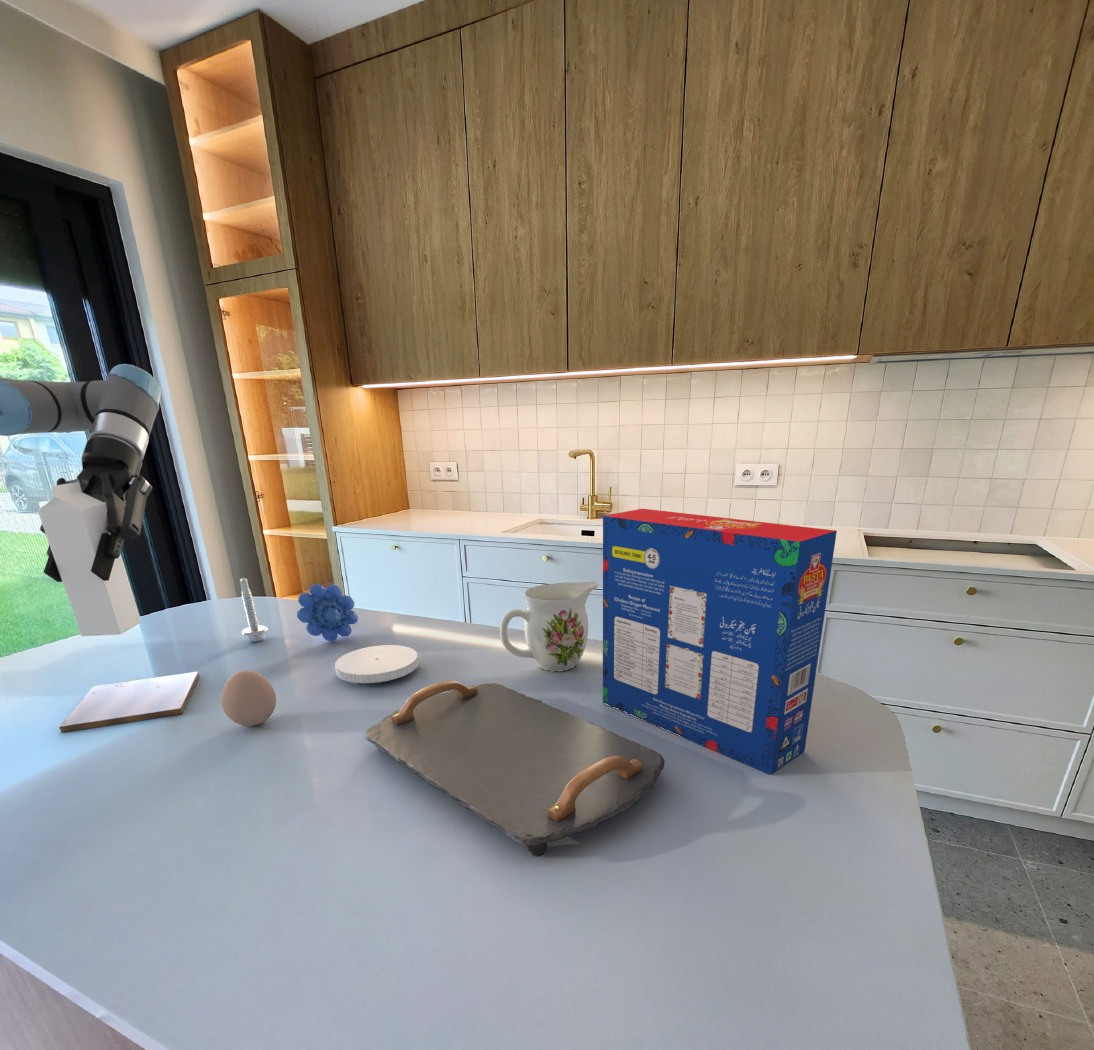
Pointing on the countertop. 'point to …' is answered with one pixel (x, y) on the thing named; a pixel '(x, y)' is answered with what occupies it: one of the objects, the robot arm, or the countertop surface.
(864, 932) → the countertop surface
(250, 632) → the screw
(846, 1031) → the countertop surface
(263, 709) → the egg
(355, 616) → the blue flower
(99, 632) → the milk
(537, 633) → the pitcher
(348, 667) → the plastic lid
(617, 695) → the pasta box
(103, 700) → the board
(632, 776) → the serving tray
